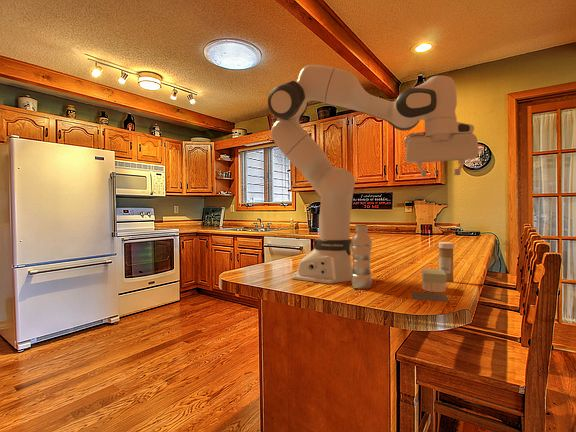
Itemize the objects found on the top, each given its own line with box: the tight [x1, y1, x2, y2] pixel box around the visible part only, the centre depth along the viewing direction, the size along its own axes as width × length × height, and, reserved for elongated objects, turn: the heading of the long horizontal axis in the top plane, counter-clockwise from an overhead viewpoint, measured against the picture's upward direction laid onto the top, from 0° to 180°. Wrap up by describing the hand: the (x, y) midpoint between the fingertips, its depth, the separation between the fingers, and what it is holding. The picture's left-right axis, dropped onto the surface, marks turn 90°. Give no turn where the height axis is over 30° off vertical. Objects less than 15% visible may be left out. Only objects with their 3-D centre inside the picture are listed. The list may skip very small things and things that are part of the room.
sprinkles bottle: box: [438, 241, 455, 284], centre depth 106 cm, size 5×5×13 cm
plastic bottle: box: [350, 224, 373, 290], centre depth 98 cm, size 6×7×20 cm
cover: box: [421, 268, 447, 284], centre depth 95 cm, size 6×8×2 cm
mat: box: [410, 291, 450, 303], centre depth 87 cm, size 9×8×1 cm
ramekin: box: [421, 278, 447, 293], centre depth 95 cm, size 6×6×4 cm
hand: (440, 175), depth 97 cm, fingers open, 8 cm apart
